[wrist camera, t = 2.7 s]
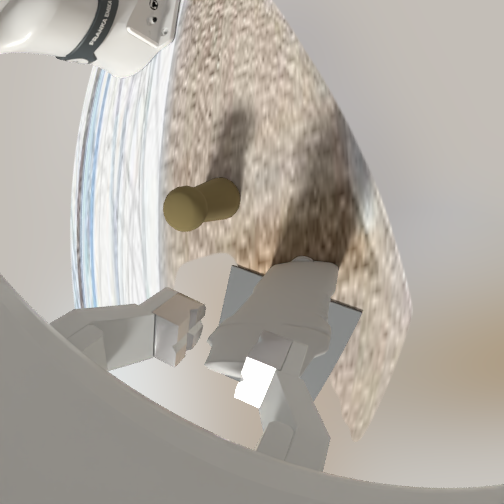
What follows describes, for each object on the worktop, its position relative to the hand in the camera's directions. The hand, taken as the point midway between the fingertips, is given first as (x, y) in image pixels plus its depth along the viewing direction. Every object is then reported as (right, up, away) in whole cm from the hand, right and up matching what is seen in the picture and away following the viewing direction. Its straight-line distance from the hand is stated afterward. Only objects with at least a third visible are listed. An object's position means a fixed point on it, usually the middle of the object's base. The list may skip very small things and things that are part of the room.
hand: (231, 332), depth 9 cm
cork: (-4, +10, +31) cm, 33 cm away
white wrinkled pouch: (+8, 0, +30) cm, 31 cm away
